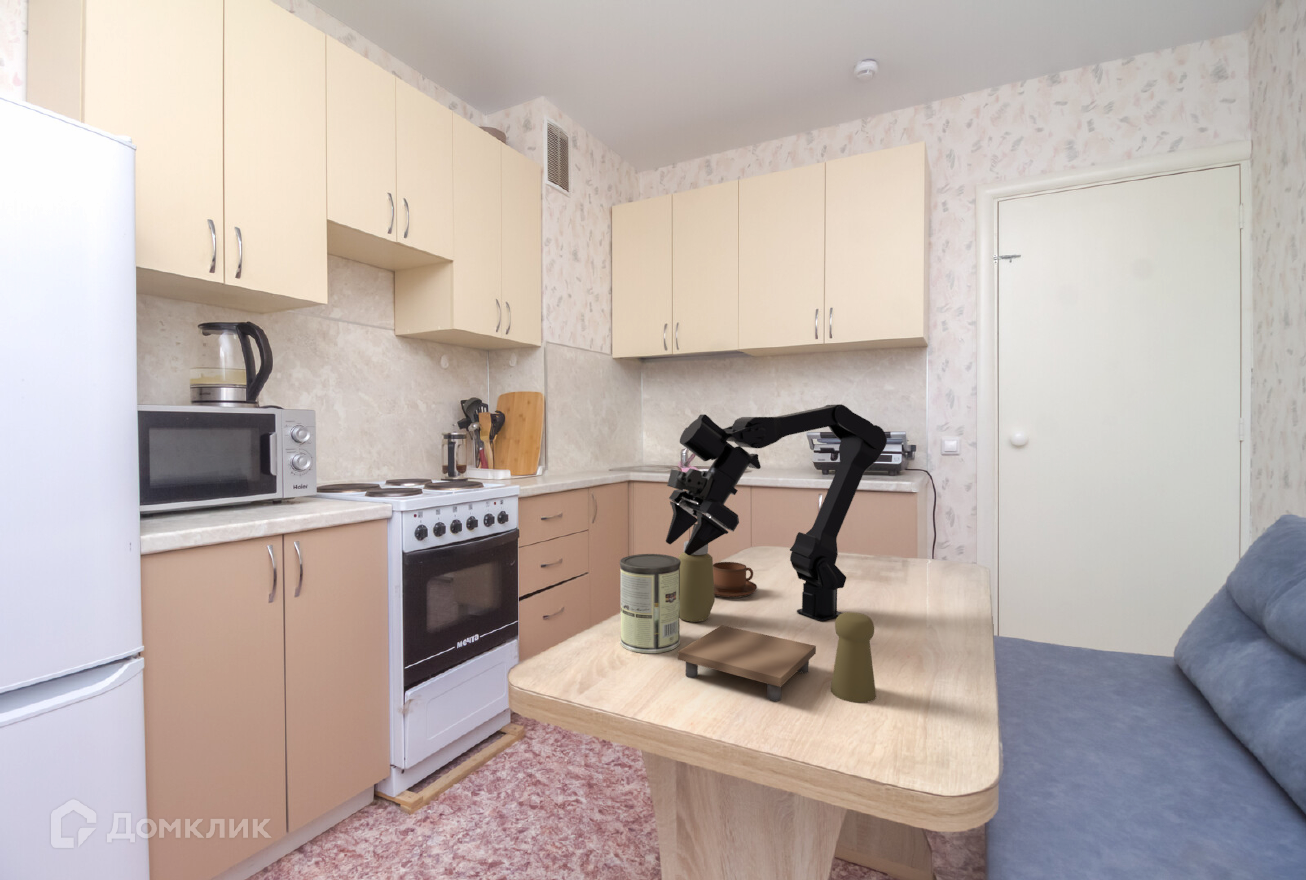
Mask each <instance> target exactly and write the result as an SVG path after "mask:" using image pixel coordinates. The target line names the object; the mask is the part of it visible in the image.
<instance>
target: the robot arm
mask: <svg viewBox="0 0 1306 880" xmlns="http://www.w3.org/2000/svg"><path fill="white" fill-rule="evenodd" d="M824 428H829V430H830V432H831V433H832V435H833V436H835V437H836V438H837V439H838V440H839V441H840V443H839V446H838V453H839V465H838V467H837V468H836V471H835V474H834V476H833V478H832V481H831V483H830V485H829V488H828V490H827V493H826V495H825V497H824V500H823V502H822V504H821V506H820V509H819V511H818V513H817V516H816V519H815V520H814V523H813V525H812V527H811V528H810V529H809V530H808V531H807V532H806V533H804V532H800V531H799V532H798V533H797V534H796V537H795V539H794V543H793V545H792V547H790V549H789V552H791V553H790V556H789V557H790V558H789V561H790V563H791V567H792V568H793V569H794V570H795V572H796V574H797V575H796V576H797V578H798V579H799V580H803V584H802V586H803V589H802V592H801V595H802V596H801V597H802V598H801V608H799V609H796V613H798V614H800V615H802V616H806V617H808V618H811V619H814V620H817V621H820V622H823V621H824V622H825V621H828V620H829V621H830V620H832V619H833V620H834V619H836V618H837V617H838V616H839V615H840V614H842V613H843V612H842V611H840V610H839V611H838V608H837V607H838V589H843V588H844V587H845V584H846V581H847V576H846V575H845V573H843V571H841V569H840V568H838V567H837V565H836V562H837V558H838V555H839V551H838V542H837V539H838V535H839V532H840V531H841V529H842V526H843V524H844V521H845V519H846V516H847V514H848V511H849V509H850V507H851V505H852V502H853V500H854V497H855V495H856V493H857V490H858V488H859V486H860V483H861V481H862V478H863V475H864V474H865V473H866V471H867V470H868V469H870V467H872V466H873V465H874V464H875V463H876V462H877V461H878V460H879V459H880V457H881V454H882V453H883V451H884V450H885V448H886V446H887V442H888V437H887V436H886V432H885V431H884V429H883V428H882V427H881V426H880V425H875V424H873V423H872V421H870V420H868V419H866V418H865V417H862V416H860V415H858V414H857V413H855V412H853V411H852V410H851V409H849V407H848V406H845V405H844V404H827V405H826V404H825V405H824V406H822V407H817V408H811V409H808V410H803V411H798V412H793V413H788V414H784V415H783V414H782V415H778V416H742V417H739V418H737V419H735V420H734V422H733V423H732V425H729V426H728V427H724V428H722V427H721V426H719V425H718V424H717V423H715V422H714V421H713V420H712V418H711V417H709V416H708V415H707V414H699V415H698V417H697V419H695V420H693V421H692V422H691V423H690V424H689V426H687V427H685V428H684V430H683V431H682V433H681V436H680V438H679V444H681V445H682V446H683V447H684V448H685V449H687V450H688V451H690V452H691V453H692V454H693V455H695V456H696V457H698V458H699V459H700V460H702V461H703V462H708V461H713V462H712V464H711V465H710V467H709V468H708V470H698V469H695V468H689V469H688V470H687V471H685V472H684V471H680V470H676V469H673V468H672V469H670V474H669V477H668V481H667V485H666V486H667V487H670V488H672V489H674V490H673V491H672V493H671V495H670V496H669V498H668V499H669V500H670V501H669V503H670V506H671V509H672V513H673V514H672V518H671V522H670V525H669V528H668V532H667V535H666V539H665V543H667V544H668V545H672V544H673V543H674V542H675V541H677V540H678V539H679V538H681V537H682V536H683V535H684V534H685V533H686V532H687V531H688V530H690V528H693V526H694V524H697V526H696V528H695V530H694V532H693V534H692V533H691V534H692V536H691V535H690V537H691V538H689V540H688V541H689V542H688V544H687V546H686V549H685V551H684V550H683V552H685V553H686V554H687V555H691V554H693V553H694V552H696V551H697V550H699V549H700V548H702V547H704V546H705V545H707V544H708V545H709V544H710V543H711V542H714V541H716V539H718V538H720V537H722V536H724V535H727V534H729V531H731V532H734V531H735V530H736V529H737V527H738V525H739V523H740V519H739V515H738V514H737V513H736V512H735V511H733V510H732V509H731V508H729V507H728V506H727V505H725V503H726V502H727V501H728V499H729V497H730V495H733V496H735V495H736V494H737V493H738V492H739V491H738V489H736V486H737V485H738V483H739V482H740V480H741V478H742V477H743V475H744V474H745V472H746V470H747V469H748V468H749V469H750V468H751V469H756V470H761V468H762V466H761V462H760V460H759V454H758V453H750V452H748V451H747V450H746V449H745V448H749V449H764V448H766V447H769V446H770V445H772V444H775V443H777V442H779V441H780V440H781V439H783V438H785V437H788V436H792V435H797V434H801V433H804V432H810V431H815V430H819V429H824ZM731 442H732V443H735V444H736V445H737V446H733V445H732V444H731ZM728 530H729V531H728Z"/></svg>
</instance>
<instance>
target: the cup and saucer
mask: <svg viewBox="0 0 1306 880" xmlns="http://www.w3.org/2000/svg"><path fill="white" fill-rule="evenodd" d="M747 571H749V573H750V574H749V577H747ZM713 577H714V595H715V597H716V596H717V597H722V598H743V597H746V596H749V595H752V594H754V593H755V592H756V591H757V588H758V586H757V584H756V583H754V582H753V581H751V580H752V579H753V577H754V570H753V569H752V568H751V567H747V565H746V564H744V563H741V562H734V561H722V562H721V561H720V562H715V563H713Z"/></svg>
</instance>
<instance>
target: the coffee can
mask: <svg viewBox="0 0 1306 880" xmlns="http://www.w3.org/2000/svg"><path fill="white" fill-rule="evenodd" d="M680 564H681V561H680V559H678V557H675V556H672V555H668V554H660V553H641V554H640V553H639V554H633V555H632V554H631V555H628V556H625V557H623V558H621V559H620V560H619V566H620V640H619V641H620V643H619V644H620V645H621V646H622V647H623V648H624V649H626V650H628V651H631V652H635V653H640V654H661V653H665V652H670V651H673V650H674V649H676V648H677V647H678V646H679V645H680V643H681V641H680V630H681V629H680V619H681V618H680V614H679V611H680Z"/></svg>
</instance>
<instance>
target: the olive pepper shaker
mask: <svg viewBox="0 0 1306 880" xmlns="http://www.w3.org/2000/svg"><path fill="white" fill-rule="evenodd" d="M834 629H835V633H836V635H837V636H838V639H837V641H838V642H837V647H836V652H835V653H836V654H835V661H834V666H833V672H832V677H831V685H830V692H831V694H832V695H834V696H835V697H836V698H838V699H840V700H842V701H846V702H850V703H855V704H856V703H858V704H864V703H865V702H866V703H869V702H868V701H871V700H873V701H875V700H876V698H877V693H876V685H875V676H874V668H873V667H874V666H873V659H872V658H873V657H872V650H871V640H872V639H873V637H874V634H875V625H874V622H873V620H872V618H871V617H870V616H868V615H866V614H865V613H864V614H863V613H859V612H854V611H853V612H852V611H851V612H850V611H849V612H848V611H847V612H842V614H840V615H839V616H838V617H836V618H835V622H834ZM875 697H876V698H875ZM861 702H862V703H861ZM863 702H864V703H863ZM871 702H872V701H871Z"/></svg>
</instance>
